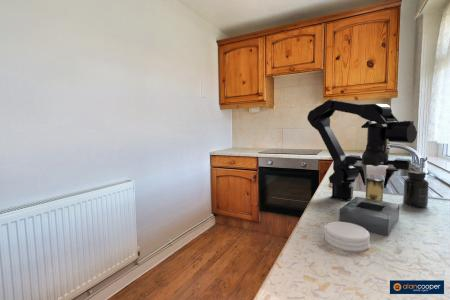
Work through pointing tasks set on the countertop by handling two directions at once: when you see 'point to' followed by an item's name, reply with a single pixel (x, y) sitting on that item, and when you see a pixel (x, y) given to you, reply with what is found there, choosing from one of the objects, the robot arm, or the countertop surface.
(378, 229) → the housing
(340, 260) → the countertop surface
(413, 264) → the countertop surface
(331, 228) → the white flat disc stack
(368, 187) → the tan cylinder
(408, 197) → the supplement bottle
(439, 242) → the countertop surface
